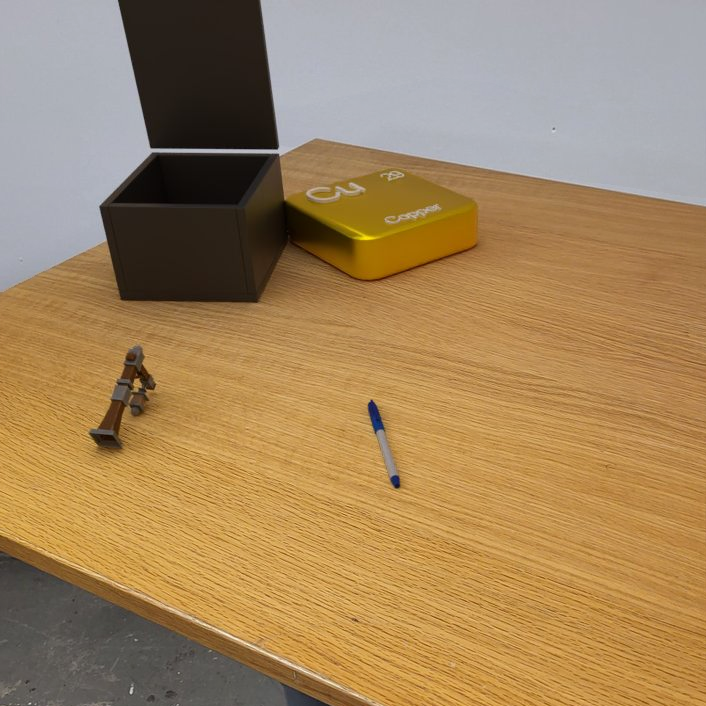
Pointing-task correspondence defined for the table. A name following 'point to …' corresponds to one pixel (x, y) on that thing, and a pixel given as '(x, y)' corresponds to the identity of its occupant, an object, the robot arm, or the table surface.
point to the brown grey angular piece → (124, 399)
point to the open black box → (197, 227)
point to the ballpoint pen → (383, 443)
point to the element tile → (381, 223)
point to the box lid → (201, 73)
